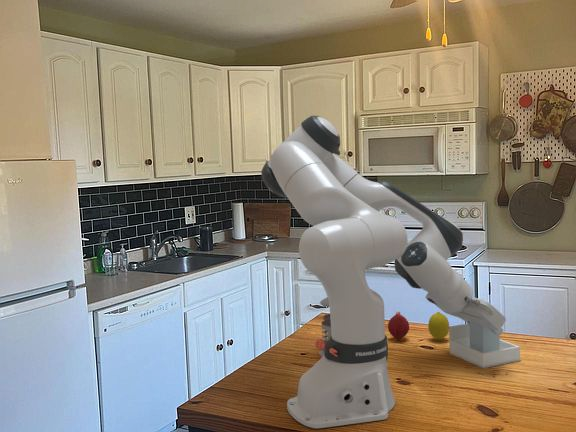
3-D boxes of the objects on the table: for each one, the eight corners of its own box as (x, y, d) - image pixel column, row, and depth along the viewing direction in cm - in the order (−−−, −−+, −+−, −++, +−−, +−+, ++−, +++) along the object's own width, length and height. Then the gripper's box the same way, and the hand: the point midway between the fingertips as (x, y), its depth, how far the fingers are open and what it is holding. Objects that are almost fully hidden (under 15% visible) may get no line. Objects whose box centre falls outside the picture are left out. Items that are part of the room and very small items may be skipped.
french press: (353, 345, 161) (350, 255, 159) (359, 360, 150) (356, 262, 147) (317, 347, 161) (313, 257, 158) (321, 362, 149) (317, 264, 147)
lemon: (452, 338, 163) (451, 310, 162) (445, 344, 159) (445, 315, 158) (432, 336, 166) (431, 308, 165) (425, 342, 161) (425, 313, 161)
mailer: (483, 368, 140) (482, 339, 139) (449, 353, 152) (449, 326, 151) (520, 360, 144) (519, 332, 143) (484, 346, 156) (484, 320, 155)
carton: (483, 360, 144) (482, 319, 143) (469, 354, 149) (469, 315, 148) (500, 356, 146) (499, 316, 145) (485, 350, 151) (485, 312, 150)
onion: (411, 342, 162) (410, 314, 161) (390, 343, 162) (389, 314, 161) (407, 336, 167) (406, 308, 167) (387, 337, 167) (386, 309, 167)
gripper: (490, 291, 134) (524, 327, 138) (435, 277, 152) (466, 309, 157) (475, 314, 132) (509, 349, 137) (421, 296, 151) (453, 328, 156)
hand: (486, 328), depth 147 cm, fingers open, 8 cm apart
